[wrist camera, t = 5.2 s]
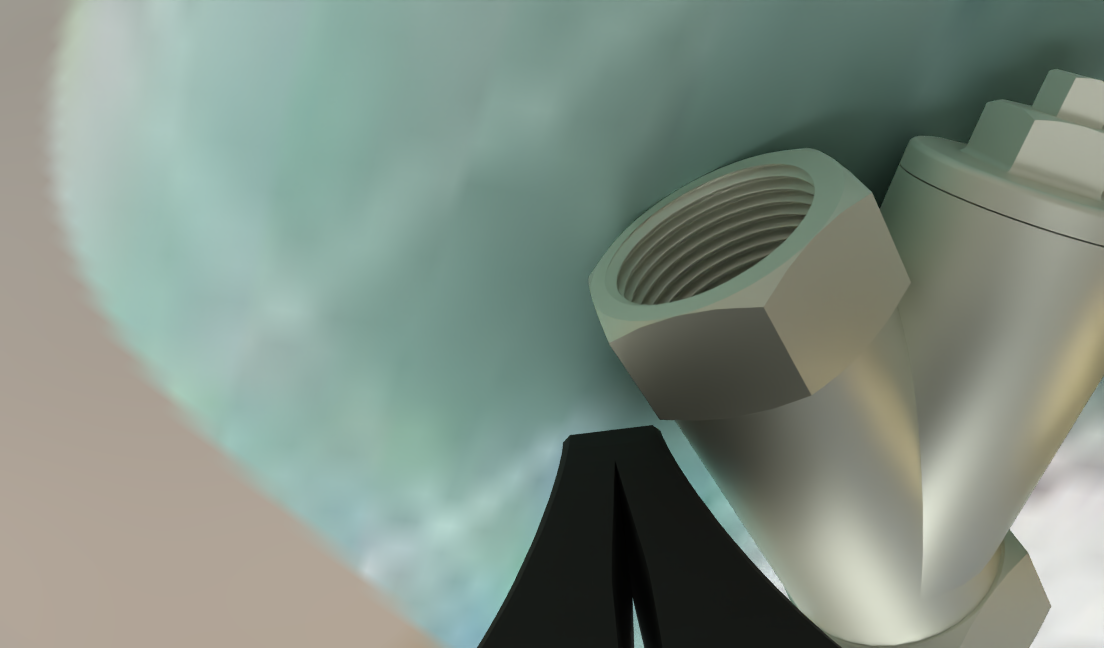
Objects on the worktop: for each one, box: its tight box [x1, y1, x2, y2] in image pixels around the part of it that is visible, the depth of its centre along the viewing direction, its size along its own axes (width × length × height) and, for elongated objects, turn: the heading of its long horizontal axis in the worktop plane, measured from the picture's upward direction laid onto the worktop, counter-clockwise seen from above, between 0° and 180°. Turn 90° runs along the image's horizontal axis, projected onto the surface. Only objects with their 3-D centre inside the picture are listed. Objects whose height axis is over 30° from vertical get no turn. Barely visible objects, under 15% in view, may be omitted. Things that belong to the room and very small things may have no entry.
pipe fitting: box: [588, 69, 1104, 648], centre depth 11 cm, size 8×4×7 cm
